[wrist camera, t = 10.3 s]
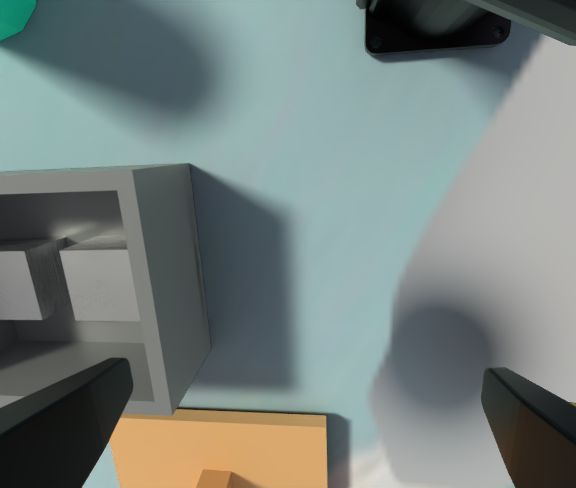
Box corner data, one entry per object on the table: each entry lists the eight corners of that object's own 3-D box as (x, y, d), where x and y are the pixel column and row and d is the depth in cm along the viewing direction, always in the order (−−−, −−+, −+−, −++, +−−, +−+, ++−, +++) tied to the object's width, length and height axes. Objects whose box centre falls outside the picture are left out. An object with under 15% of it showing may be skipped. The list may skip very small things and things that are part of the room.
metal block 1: (65, 236, 21) (24, 251, 18) (79, 297, 22) (42, 320, 19) (7, 238, 21) (-43, 252, 18) (23, 297, 22) (-22, 319, 19)
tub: (189, 163, 20) (132, 169, 14) (211, 348, 23) (172, 415, 17) (-28, 172, 21) (-159, 182, 15) (21, 344, 24) (-73, 404, 19)
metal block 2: (159, 235, 20) (131, 249, 17) (169, 297, 21) (144, 321, 18) (96, 236, 21) (59, 250, 18) (108, 297, 22) (75, 320, 19)
